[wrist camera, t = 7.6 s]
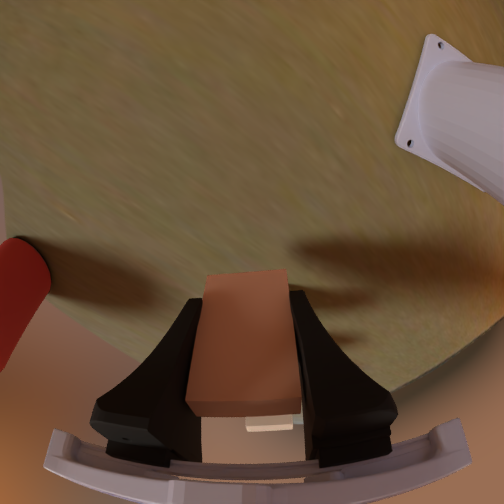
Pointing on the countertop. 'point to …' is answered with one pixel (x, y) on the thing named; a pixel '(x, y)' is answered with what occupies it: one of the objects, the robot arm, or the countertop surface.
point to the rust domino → (245, 348)
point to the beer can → (19, 291)
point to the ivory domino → (269, 423)
